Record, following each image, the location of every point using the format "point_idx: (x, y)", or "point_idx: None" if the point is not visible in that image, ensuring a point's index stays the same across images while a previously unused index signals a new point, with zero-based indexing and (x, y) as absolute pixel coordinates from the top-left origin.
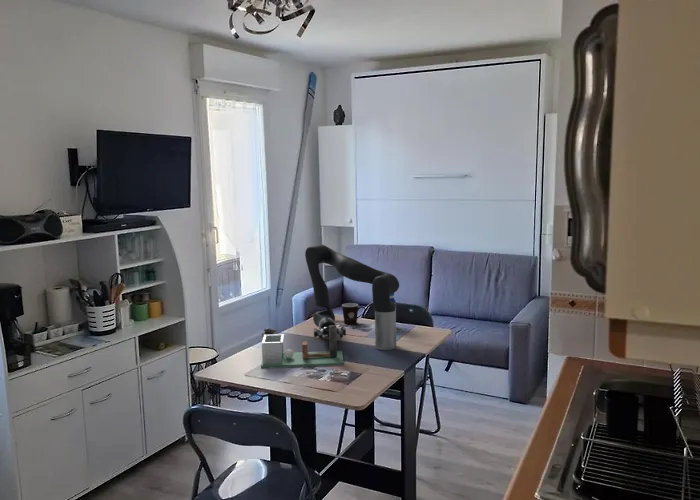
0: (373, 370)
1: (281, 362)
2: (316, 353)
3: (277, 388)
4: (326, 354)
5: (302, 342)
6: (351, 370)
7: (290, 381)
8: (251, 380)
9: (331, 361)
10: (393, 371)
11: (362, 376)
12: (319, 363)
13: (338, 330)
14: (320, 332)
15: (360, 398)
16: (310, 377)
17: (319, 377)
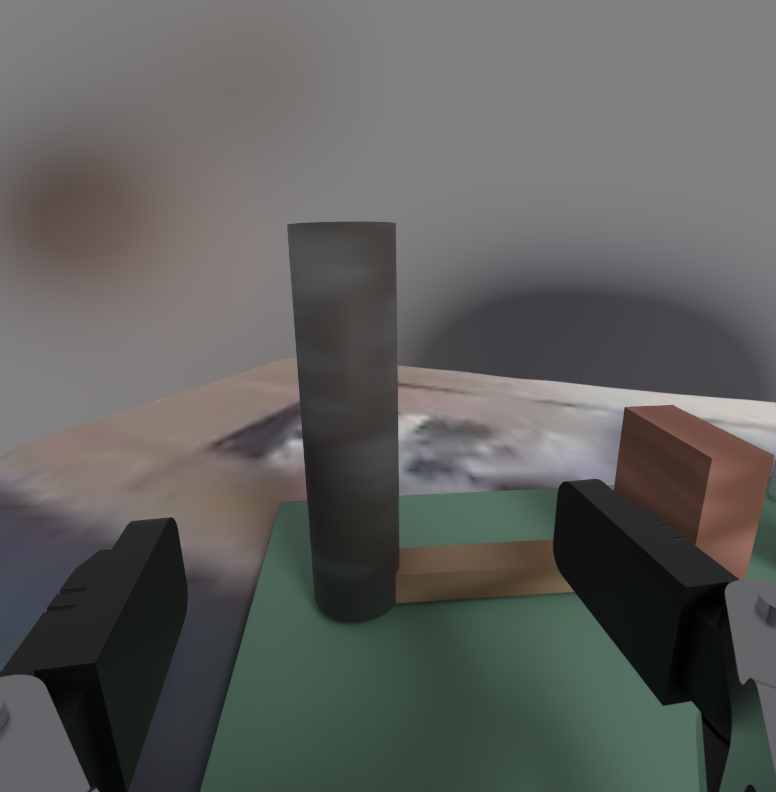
0: (120, 468)
1: (773, 489)
2: (549, 557)
3: (567, 385)
4: (431, 552)
5: (739, 438)
6: (251, 468)
7: (549, 407)
8: (735, 410)
9: None
10: (18, 460)
11: (220, 431)
12: (466, 494)
13: (60, 746)
14: (701, 573)
15: (285, 366)
16: (474, 425)
17: (430, 425)
